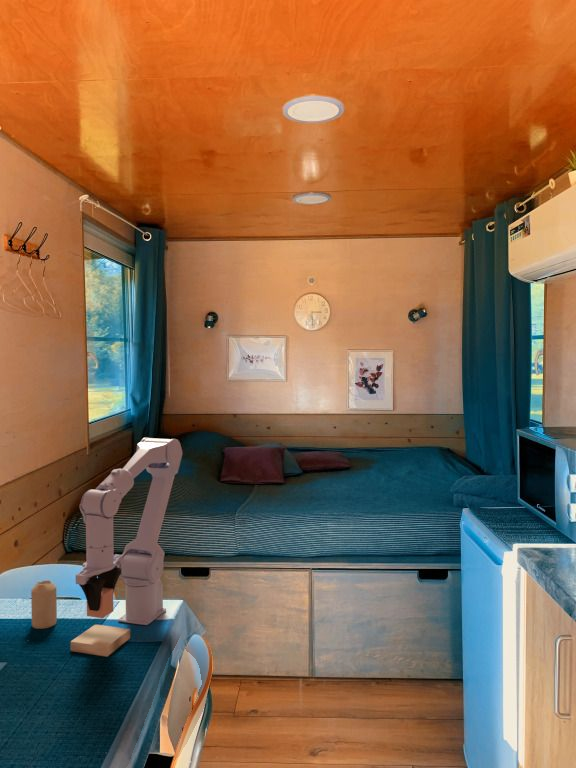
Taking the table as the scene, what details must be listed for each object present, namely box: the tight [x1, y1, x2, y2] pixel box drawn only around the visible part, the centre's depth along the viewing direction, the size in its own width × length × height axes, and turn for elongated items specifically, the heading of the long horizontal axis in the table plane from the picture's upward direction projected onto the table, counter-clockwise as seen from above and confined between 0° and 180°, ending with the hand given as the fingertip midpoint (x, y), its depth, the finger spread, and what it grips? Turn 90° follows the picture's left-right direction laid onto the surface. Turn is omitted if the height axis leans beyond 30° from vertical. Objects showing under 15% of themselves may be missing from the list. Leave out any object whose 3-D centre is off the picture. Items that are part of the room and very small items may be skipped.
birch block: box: [70, 624, 131, 657], centre depth 132 cm, size 9×9×2 cm
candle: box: [30, 580, 58, 630], centre depth 143 cm, size 6×6×10 cm
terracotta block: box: [86, 588, 114, 619], centre depth 132 cm, size 4×4×5 cm
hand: (100, 605), depth 132 cm, fingers closed on terracotta block, 4 cm apart
